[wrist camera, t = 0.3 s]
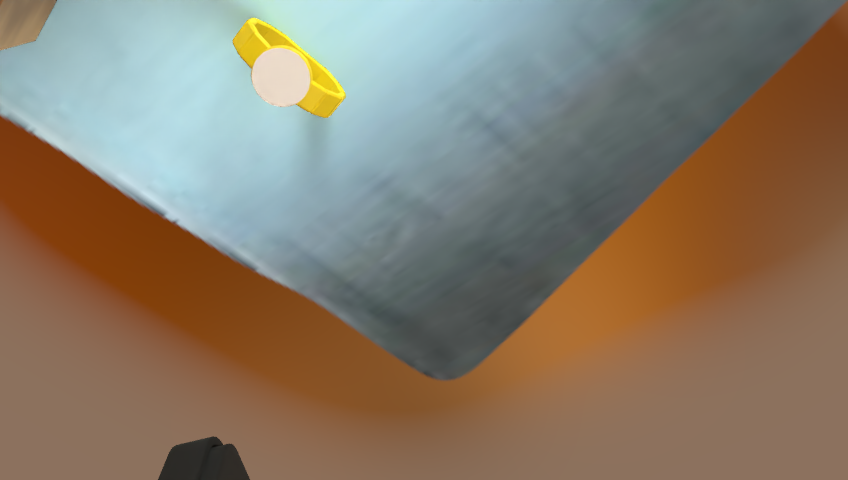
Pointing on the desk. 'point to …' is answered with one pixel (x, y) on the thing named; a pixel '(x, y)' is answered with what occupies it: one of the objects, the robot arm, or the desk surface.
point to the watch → (286, 70)
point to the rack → (22, 20)
